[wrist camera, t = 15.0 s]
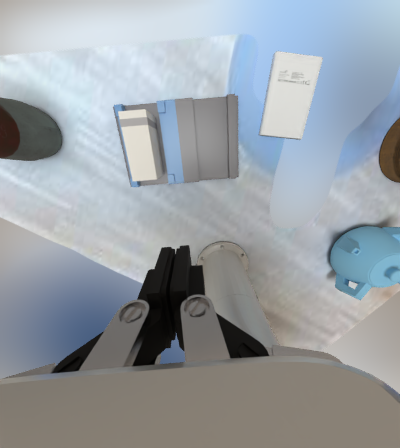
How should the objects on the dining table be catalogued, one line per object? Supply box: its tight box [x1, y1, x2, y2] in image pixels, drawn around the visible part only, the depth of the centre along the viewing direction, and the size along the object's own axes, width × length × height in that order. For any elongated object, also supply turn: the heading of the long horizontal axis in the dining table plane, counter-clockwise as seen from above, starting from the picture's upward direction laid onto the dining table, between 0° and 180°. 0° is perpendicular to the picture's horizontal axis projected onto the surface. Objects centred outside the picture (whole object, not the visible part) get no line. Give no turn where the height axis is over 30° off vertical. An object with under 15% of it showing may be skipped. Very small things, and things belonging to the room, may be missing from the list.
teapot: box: [330, 226, 400, 300], centre depth 40 cm, size 15×15×11 cm
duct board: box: [113, 94, 238, 187], centre depth 34 cm, size 14×22×3 cm, turn 95°
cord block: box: [118, 109, 163, 181], centre depth 32 cm, size 10×4×7 cm, turn 4°
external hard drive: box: [259, 52, 323, 139], centre depth 33 cm, size 2×8×12 cm
